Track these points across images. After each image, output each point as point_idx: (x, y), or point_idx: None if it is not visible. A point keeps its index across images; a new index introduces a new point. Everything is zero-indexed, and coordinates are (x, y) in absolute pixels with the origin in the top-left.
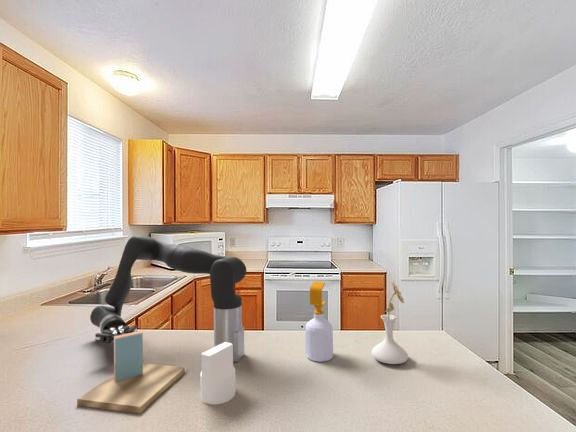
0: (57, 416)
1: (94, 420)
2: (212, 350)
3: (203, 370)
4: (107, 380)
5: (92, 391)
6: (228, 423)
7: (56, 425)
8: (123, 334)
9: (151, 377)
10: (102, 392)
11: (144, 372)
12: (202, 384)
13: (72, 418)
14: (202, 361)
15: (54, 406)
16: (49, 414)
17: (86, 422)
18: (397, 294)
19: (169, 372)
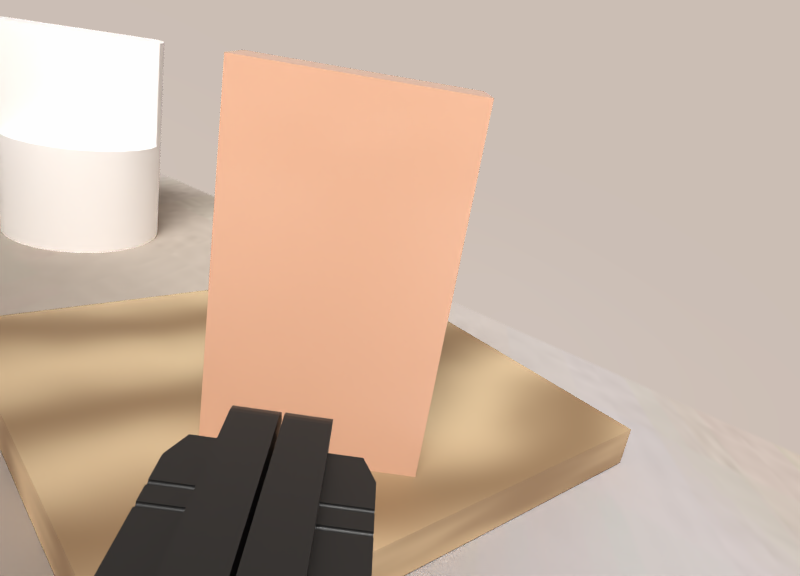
0: (690, 445)
1: (515, 349)
2: (110, 34)
3: (160, 112)
4: (464, 492)
5: (556, 439)
6: (190, 193)
7: (663, 400)
8: (402, 81)
9: (203, 356)
10: (497, 399)
11: (191, 420)
12: (158, 172)
13: (609, 399)
14: (160, 76)
15: (764, 532)
16: (746, 480)
17: (544, 356)
18: None
19: (81, 336)
